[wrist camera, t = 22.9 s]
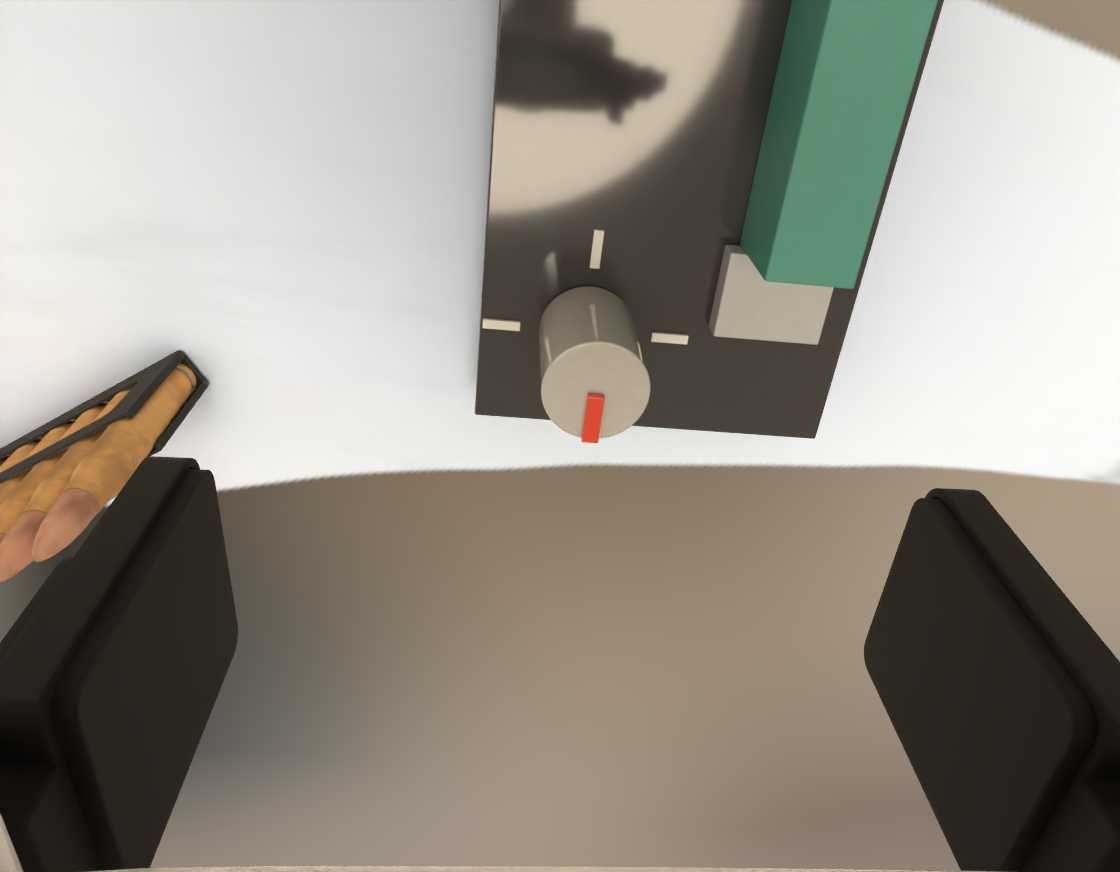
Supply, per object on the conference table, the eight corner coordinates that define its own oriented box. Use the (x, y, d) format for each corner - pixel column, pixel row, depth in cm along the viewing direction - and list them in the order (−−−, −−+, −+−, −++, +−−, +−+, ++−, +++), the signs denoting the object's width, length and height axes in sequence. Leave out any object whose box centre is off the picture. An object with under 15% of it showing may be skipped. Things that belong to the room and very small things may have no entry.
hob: (507, -119, 27) (506, -124, 25) (930, -66, 28) (966, -66, 26) (477, 386, 36) (474, 417, 34) (798, 410, 37) (816, 441, 35)
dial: (543, 281, 31) (547, 340, 26) (640, 290, 31) (660, 350, 27) (534, 369, 33) (535, 439, 28) (625, 377, 33) (642, 448, 29)
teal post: (908, -26, 26) (963, -21, 23) (810, 334, 33) (842, 378, 29) (783, -41, 26) (821, -38, 23) (708, 326, 32) (729, 369, 29)
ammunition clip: (181, 348, 35) (36, 524, 24) (211, 384, 35) (83, 569, 25) (-15, 457, 37) (-224, 661, 26) (18, 488, 38) (-173, 697, 27)
